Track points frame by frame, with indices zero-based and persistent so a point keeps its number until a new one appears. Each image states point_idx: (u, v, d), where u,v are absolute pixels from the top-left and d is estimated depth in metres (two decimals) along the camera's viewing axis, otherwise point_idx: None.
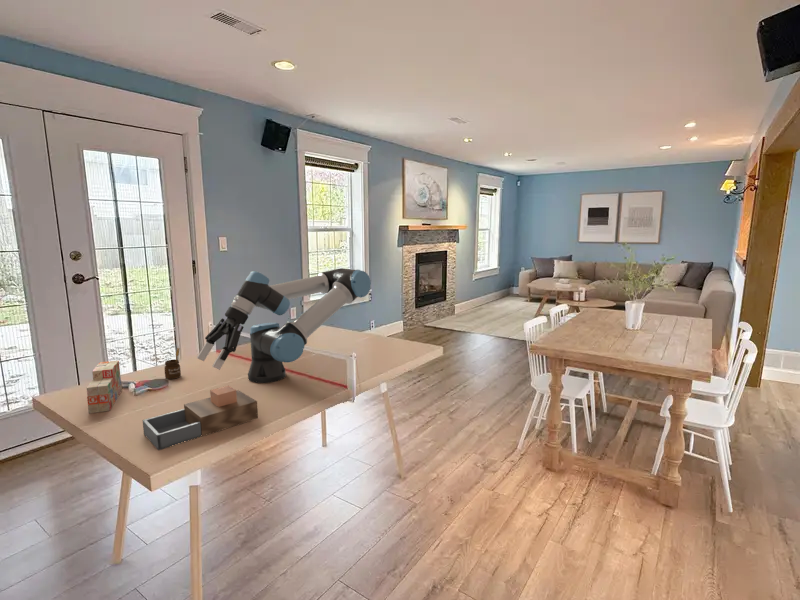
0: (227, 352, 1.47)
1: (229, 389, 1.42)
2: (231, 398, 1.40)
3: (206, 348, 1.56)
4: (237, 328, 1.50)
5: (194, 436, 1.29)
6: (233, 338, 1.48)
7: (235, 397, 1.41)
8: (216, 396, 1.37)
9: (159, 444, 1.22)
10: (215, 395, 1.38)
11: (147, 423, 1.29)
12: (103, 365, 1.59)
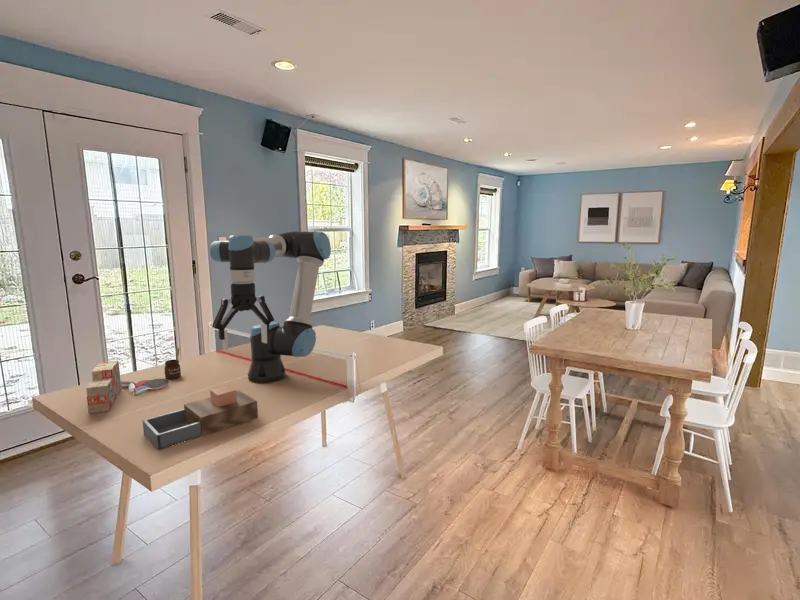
0: None
1: (229, 389, 1.42)
2: (231, 398, 1.40)
3: None
4: None
5: (194, 436, 1.29)
6: (269, 310, 1.49)
7: (235, 397, 1.41)
8: (216, 396, 1.37)
9: (159, 444, 1.22)
10: (215, 395, 1.38)
11: (147, 423, 1.29)
12: (103, 365, 1.59)
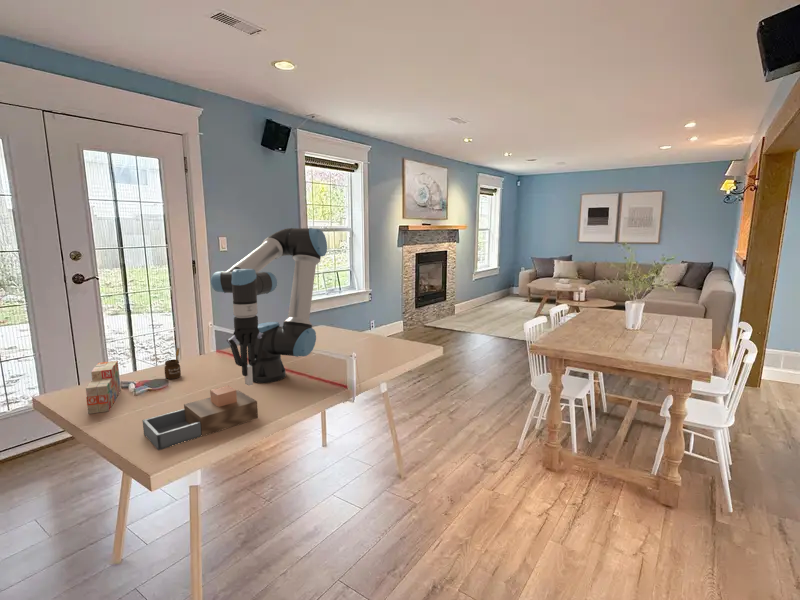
0: None
1: (229, 389, 1.42)
2: (231, 398, 1.40)
3: None
4: None
5: (194, 436, 1.29)
6: None
7: (235, 397, 1.41)
8: (216, 396, 1.37)
9: (159, 444, 1.22)
10: (215, 395, 1.38)
11: (147, 423, 1.29)
12: (102, 365, 1.59)
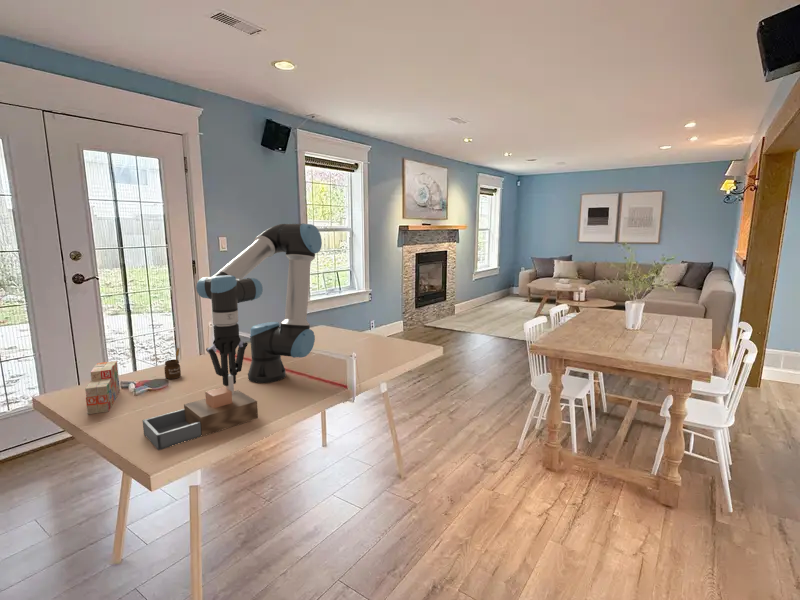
0: None
1: (224, 390, 1.40)
2: (227, 399, 1.39)
3: None
4: None
5: (194, 436, 1.29)
6: None
7: (230, 398, 1.40)
8: (211, 397, 1.36)
9: (159, 444, 1.22)
10: (210, 396, 1.37)
11: (147, 423, 1.29)
12: (101, 366, 1.58)
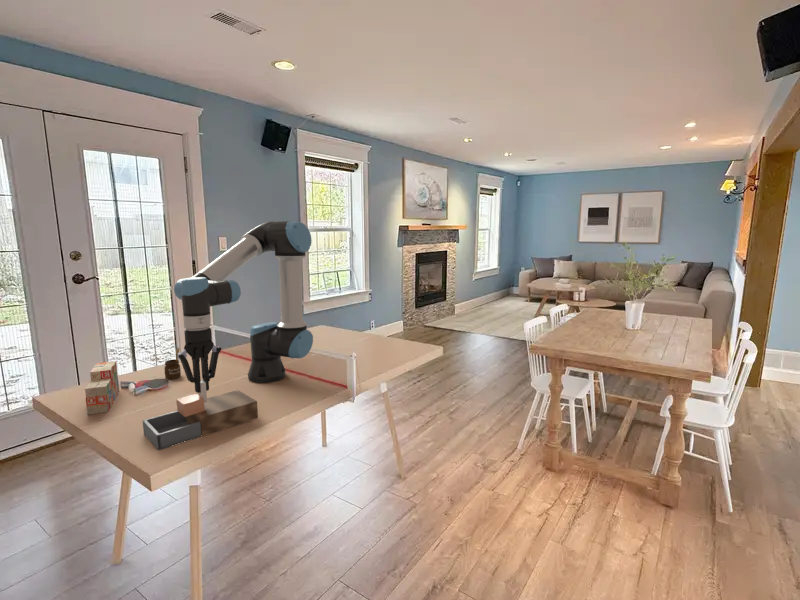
0: None
1: (196, 397, 1.34)
2: (199, 407, 1.33)
3: None
4: None
5: (194, 436, 1.29)
6: None
7: (203, 406, 1.34)
8: (182, 405, 1.30)
9: (159, 444, 1.22)
10: (181, 404, 1.31)
11: (147, 423, 1.29)
12: (101, 366, 1.58)
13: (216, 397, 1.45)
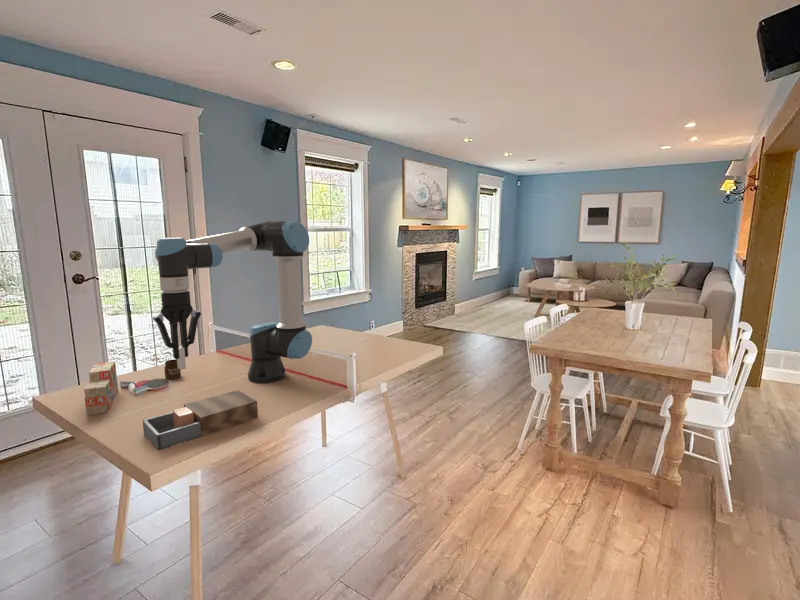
0: None
1: (176, 417, 1.31)
2: (187, 419, 1.31)
3: None
4: None
5: (194, 436, 1.29)
6: None
7: (187, 415, 1.31)
8: None
9: (159, 444, 1.22)
10: None
11: (147, 423, 1.29)
12: (99, 366, 1.58)
13: (216, 397, 1.45)
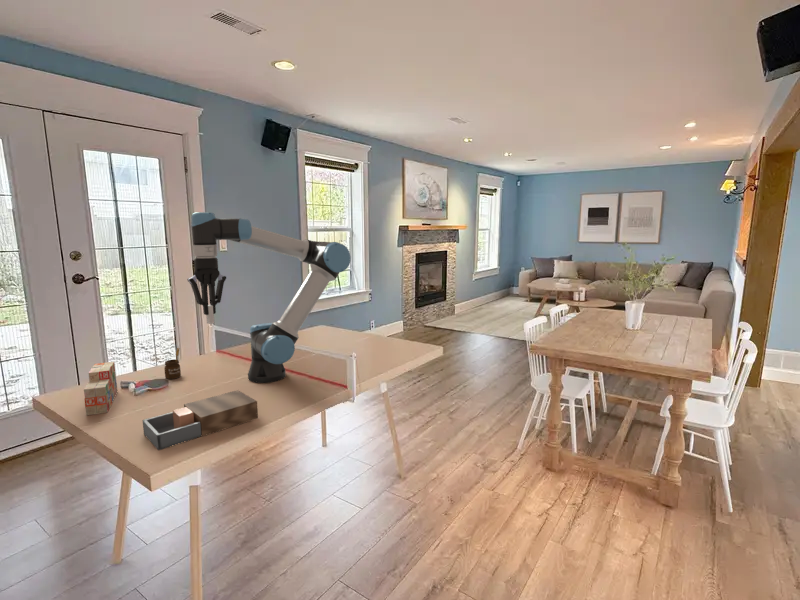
0: None
1: (176, 417, 1.31)
2: (187, 419, 1.31)
3: None
4: None
5: (194, 436, 1.29)
6: None
7: (187, 415, 1.31)
8: None
9: (159, 444, 1.22)
10: None
11: (147, 423, 1.29)
12: (99, 366, 1.57)
13: (216, 397, 1.45)
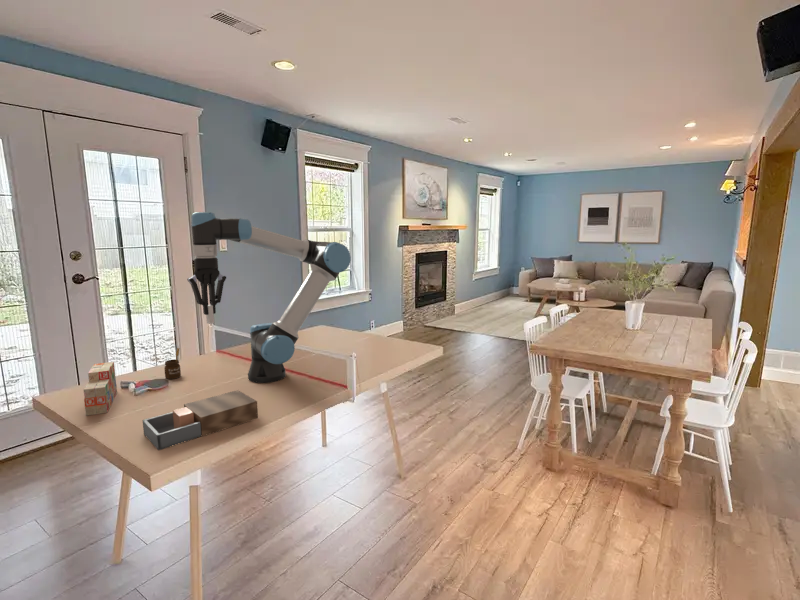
0: None
1: (176, 417, 1.31)
2: (187, 419, 1.31)
3: None
4: None
5: (194, 436, 1.29)
6: None
7: (187, 415, 1.31)
8: None
9: (159, 444, 1.22)
10: None
11: (147, 423, 1.29)
12: (98, 367, 1.57)
13: (216, 397, 1.45)
